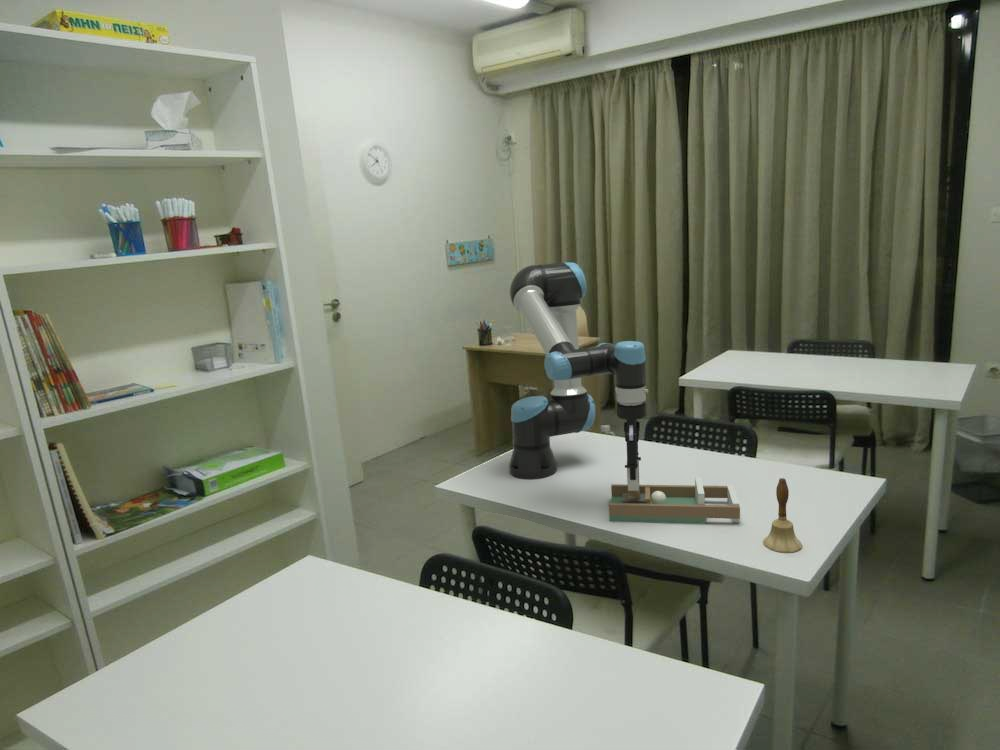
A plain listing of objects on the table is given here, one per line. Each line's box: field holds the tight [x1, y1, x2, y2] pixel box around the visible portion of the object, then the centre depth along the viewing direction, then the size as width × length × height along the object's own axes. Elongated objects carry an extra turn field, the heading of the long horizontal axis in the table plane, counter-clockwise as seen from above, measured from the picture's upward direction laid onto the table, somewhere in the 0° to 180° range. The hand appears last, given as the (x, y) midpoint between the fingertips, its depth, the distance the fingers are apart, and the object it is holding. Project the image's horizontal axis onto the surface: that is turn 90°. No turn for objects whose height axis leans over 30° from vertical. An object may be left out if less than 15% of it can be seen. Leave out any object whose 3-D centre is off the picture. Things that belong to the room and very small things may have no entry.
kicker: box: [622, 460, 650, 504], centre depth 173 cm, size 7×8×12 cm
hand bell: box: [762, 477, 803, 554], centre depth 149 cm, size 8×8×16 cm
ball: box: [651, 491, 666, 504], centre depth 172 cm, size 4×4×4 cm
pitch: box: [608, 476, 741, 525], centre depth 172 cm, size 32×14×8 cm, turn 78°
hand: (633, 487), depth 173 cm, fingers closed on kicker, 3 cm apart
